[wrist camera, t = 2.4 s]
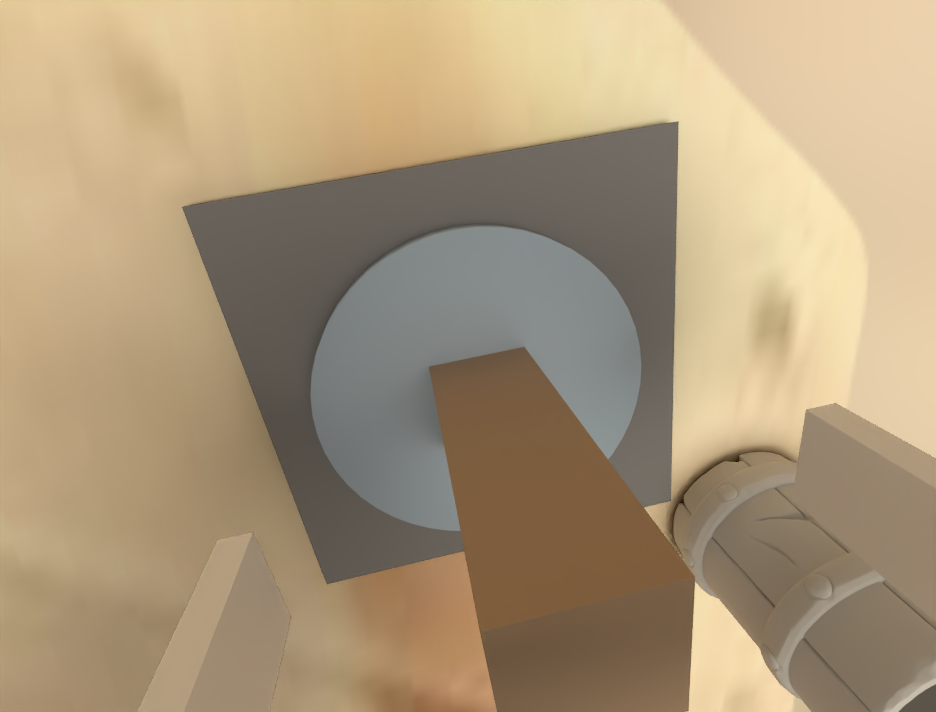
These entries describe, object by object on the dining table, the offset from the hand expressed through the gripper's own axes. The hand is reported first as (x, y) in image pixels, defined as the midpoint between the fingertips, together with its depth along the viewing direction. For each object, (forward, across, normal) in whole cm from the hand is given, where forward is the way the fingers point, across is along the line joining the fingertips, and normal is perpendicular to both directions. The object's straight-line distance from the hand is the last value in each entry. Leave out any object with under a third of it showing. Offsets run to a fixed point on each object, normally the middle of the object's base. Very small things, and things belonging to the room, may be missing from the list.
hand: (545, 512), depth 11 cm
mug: (+8, +14, -10) cm, 19 cm away
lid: (+8, 0, 0) cm, 8 cm away
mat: (+8, 0, 0) cm, 8 cm away
